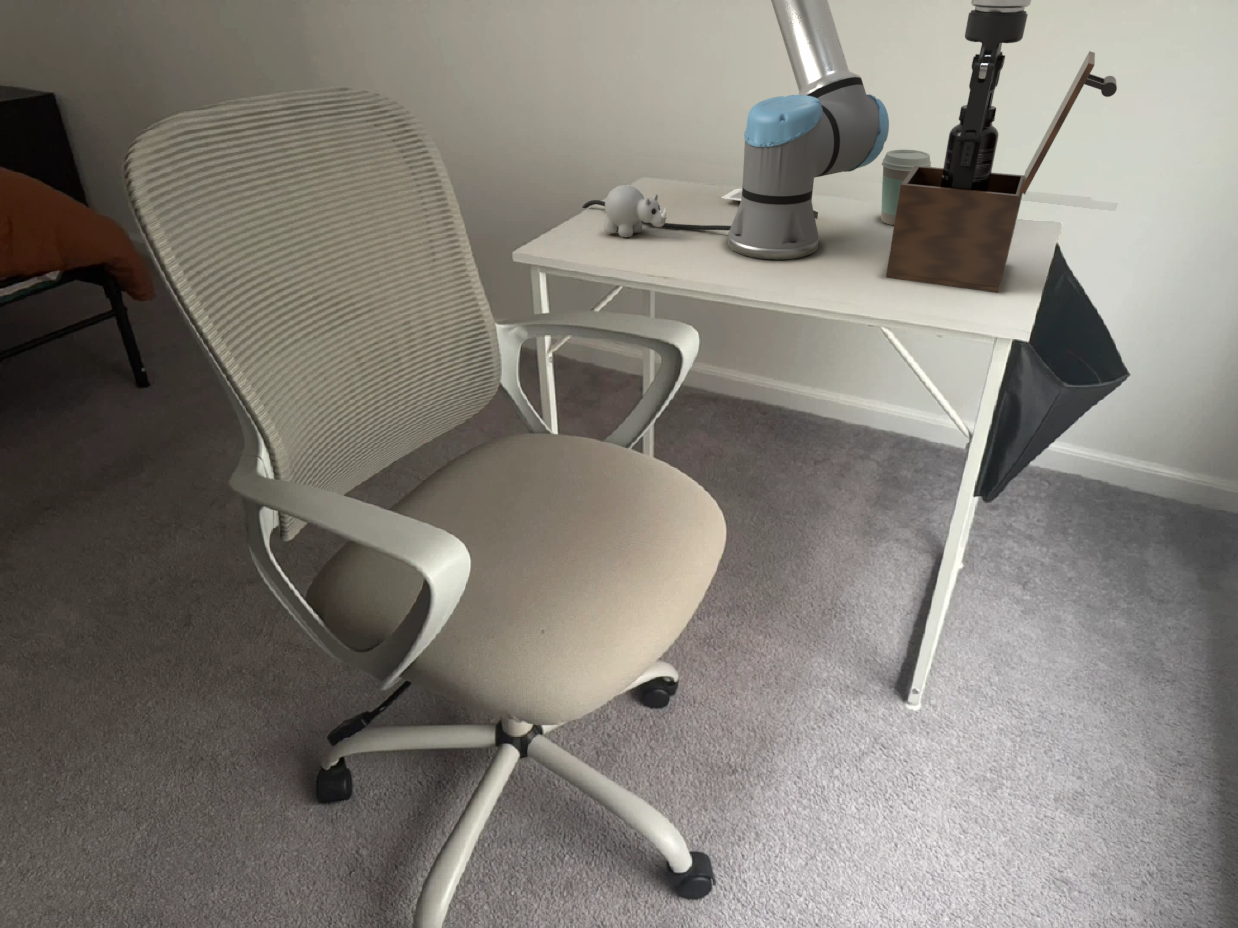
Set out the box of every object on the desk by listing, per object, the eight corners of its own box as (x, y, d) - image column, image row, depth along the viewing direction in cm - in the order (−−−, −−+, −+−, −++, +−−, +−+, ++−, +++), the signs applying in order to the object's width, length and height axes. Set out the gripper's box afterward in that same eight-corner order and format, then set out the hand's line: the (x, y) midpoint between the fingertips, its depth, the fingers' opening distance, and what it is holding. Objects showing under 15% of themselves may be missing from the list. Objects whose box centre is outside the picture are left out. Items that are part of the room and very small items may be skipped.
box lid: (1088, 62, 110) (1127, 75, 109) (1089, 50, 120) (1125, 62, 118) (1019, 191, 121) (1054, 204, 120) (1025, 171, 130) (1057, 183, 129)
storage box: (885, 277, 134) (900, 184, 127) (900, 253, 144) (914, 165, 136) (998, 292, 128) (1021, 196, 121) (1005, 266, 138) (1027, 175, 130)
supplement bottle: (983, 186, 132) (1001, 102, 125) (990, 198, 126) (1009, 111, 120) (936, 184, 133) (951, 101, 126) (941, 196, 127) (957, 110, 121)
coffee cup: (926, 218, 160) (938, 151, 154) (914, 230, 154) (926, 161, 148) (880, 212, 164) (890, 146, 158) (867, 223, 158) (877, 156, 152)
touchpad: (736, 193, 176) (737, 183, 174) (806, 203, 169) (807, 192, 168) (720, 203, 170) (720, 192, 169) (791, 213, 163) (792, 202, 162)
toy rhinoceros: (654, 246, 148) (655, 197, 144) (597, 235, 154) (596, 187, 149) (675, 235, 153) (676, 187, 149) (619, 225, 159) (618, 178, 155)
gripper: (977, 2, 125) (947, 164, 138) (961, 14, 110) (928, 195, 123) (1033, 3, 123) (997, 168, 135) (1023, 16, 108) (984, 200, 120)
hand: (964, 181), depth 129 cm, fingers closed on supplement bottle, 7 cm apart
